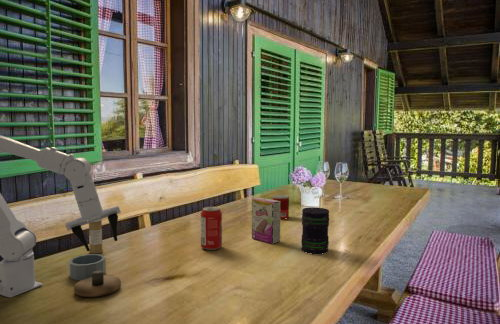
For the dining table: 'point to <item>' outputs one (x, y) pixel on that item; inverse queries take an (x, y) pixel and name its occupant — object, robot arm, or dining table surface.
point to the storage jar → (315, 230)
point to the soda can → (211, 228)
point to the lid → (97, 285)
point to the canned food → (283, 205)
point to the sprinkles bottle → (95, 236)
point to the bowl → (86, 266)
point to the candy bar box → (266, 220)
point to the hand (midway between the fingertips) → (102, 245)
